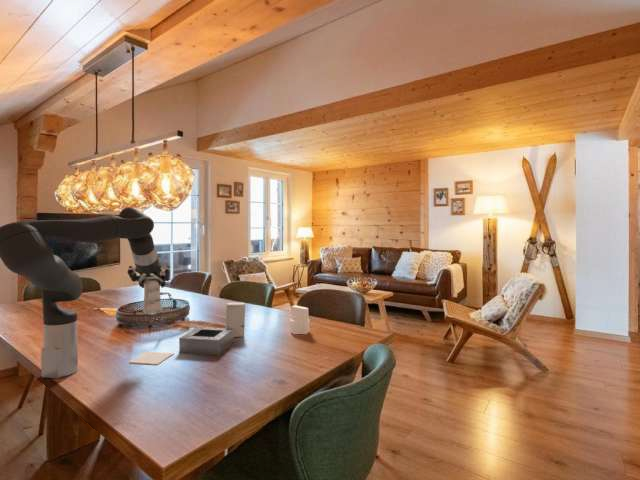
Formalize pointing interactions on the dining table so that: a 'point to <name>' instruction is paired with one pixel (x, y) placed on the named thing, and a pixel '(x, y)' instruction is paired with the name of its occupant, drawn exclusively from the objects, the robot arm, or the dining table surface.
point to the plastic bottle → (151, 296)
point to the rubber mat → (151, 358)
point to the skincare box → (236, 317)
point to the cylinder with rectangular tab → (299, 320)
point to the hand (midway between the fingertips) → (153, 285)
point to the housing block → (206, 341)
